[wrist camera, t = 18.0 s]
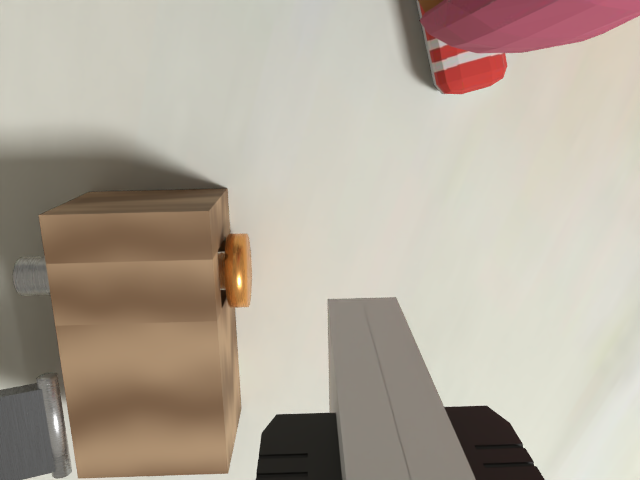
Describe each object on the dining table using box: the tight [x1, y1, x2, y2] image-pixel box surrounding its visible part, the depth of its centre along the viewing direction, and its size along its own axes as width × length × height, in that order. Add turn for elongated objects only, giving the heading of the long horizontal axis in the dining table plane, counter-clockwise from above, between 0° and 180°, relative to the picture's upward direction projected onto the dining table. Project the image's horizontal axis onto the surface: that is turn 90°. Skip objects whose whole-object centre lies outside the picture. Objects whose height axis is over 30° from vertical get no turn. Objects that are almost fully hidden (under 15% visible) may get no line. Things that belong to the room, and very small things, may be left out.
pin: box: [13, 234, 252, 308], centre depth 38 cm, size 15×5×5 cm, turn 91°
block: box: [39, 189, 241, 478], centre depth 39 cm, size 18×10×8 cm, turn 1°
